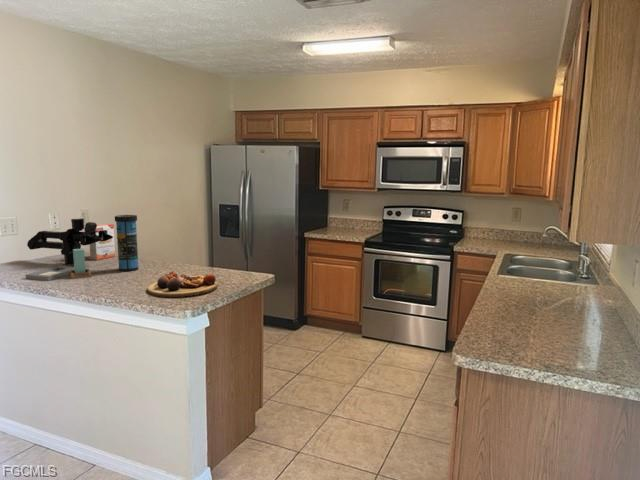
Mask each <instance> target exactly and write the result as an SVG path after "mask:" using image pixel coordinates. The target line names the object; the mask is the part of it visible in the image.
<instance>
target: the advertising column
mask: <svg viewBox="0 0 640 480" xmlns="http://www.w3.org/2000/svg"><path fill="white" fill-rule="evenodd" d="M137 221H138V215H136V214H119V215H114V222H115V224H116V225H115V226H116V240H117V257H118V259H117V260H118V272H122V273H130V272H131V273H132V272H136V271H138V270H139V253H138V252H139V251H138V232H137V231H138V230H137Z"/></svg>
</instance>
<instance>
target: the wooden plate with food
mask: <svg viewBox="0 0 640 480" xmlns="http://www.w3.org/2000/svg"><path fill="white" fill-rule="evenodd" d="M218 283H219V282H218V281H216V276H215V275H214V274H213V273H208V274H205V276H204V275H202V274H198V275H195V276H193V275H192V276H191V275H185V273H184V274H181V275H180V276H178V273H177V272H176V271H173V270H172V271H171V272H169V273H167V274H164V275H162V276H160V277H159V278H158V280H157V281H156V282H153V283H151V284H150V285H148V287H147V289H146V290H147V292H148V293H150V295H151V294H152V295H151V296H154V295H155V297H159V296H160V298H184V297H185V296H187V297H193V295H194V296H199V294H200V295H203V294H207V293H210V292H213V291H214V290H216V289H217V288H218V286H219V284H218Z"/></svg>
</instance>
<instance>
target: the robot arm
mask: <svg viewBox="0 0 640 480" xmlns="http://www.w3.org/2000/svg"><path fill="white" fill-rule="evenodd" d="M70 221H71V228H68V229H66V231H52V230H41V231H37V232H36V234H35V235H34V236H32V237H30V239H29V240H28V241H27V242H26V244H27V245H26V246H27V247H28V249H29V250H37V249H54V250H60V253H61V255H62V256H63V258H64V263H62V265H64V266H65V265H66V266H74V258H73V249H82V248H81V247H82V246H88V245H89V246H90V244H93V243H96V242H99V241H107V240H109V239H112V238H113V236H111V235H109V234H107V230H101V231H99V232H98V233H99V235H98V236H97V235H96V231H95V229H96V227H97V225H98V224H97V223H96V222H91V221H90V222H86V223H85V218H81V217H80V218H72V219H70ZM83 230H84V231H83ZM48 239H58V240H60V241H50V240H48Z"/></svg>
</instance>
